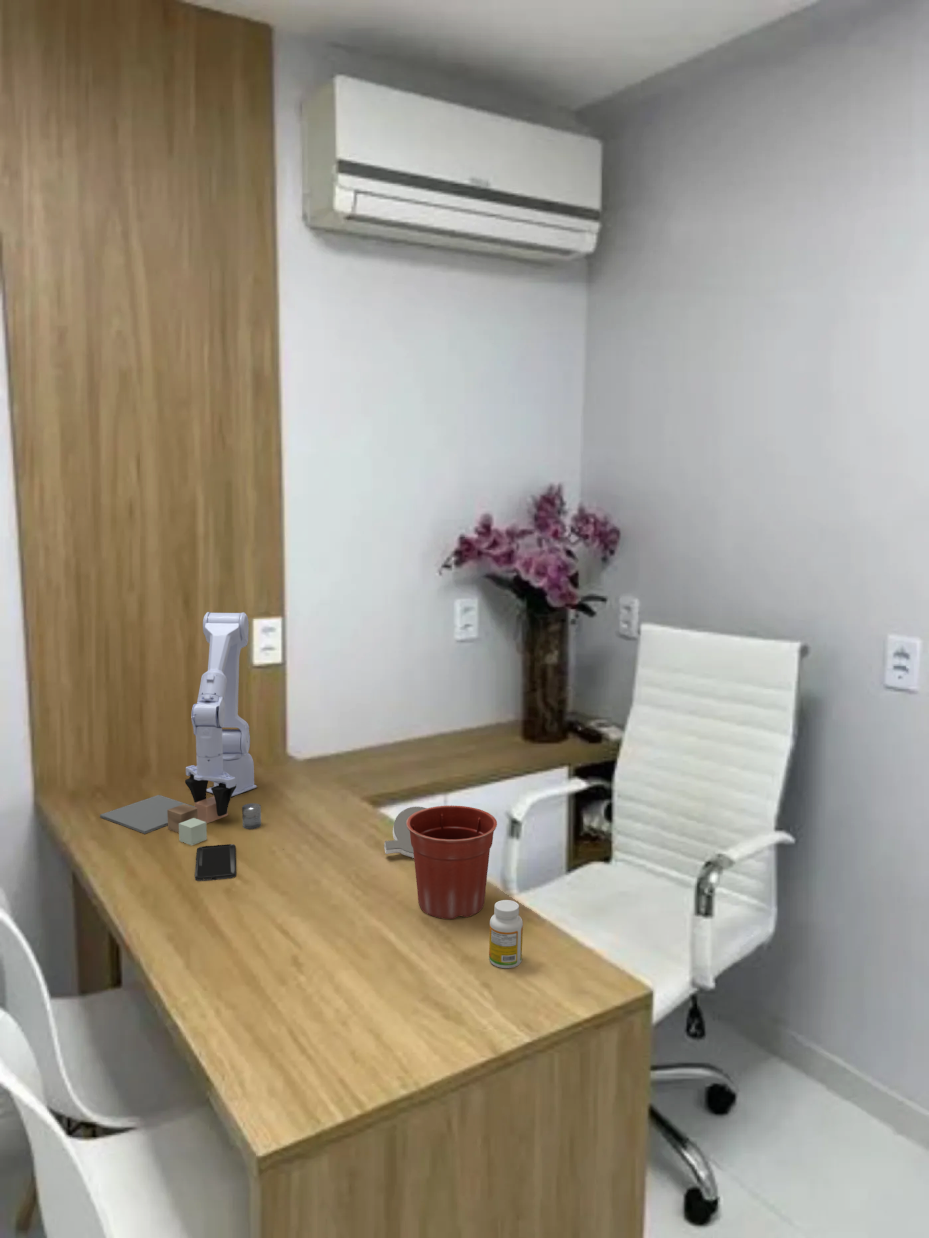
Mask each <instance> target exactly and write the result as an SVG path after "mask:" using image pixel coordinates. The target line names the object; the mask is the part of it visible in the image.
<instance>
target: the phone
mask: <svg viewBox="0 0 929 1238" xmlns="http://www.w3.org/2000/svg"><path fill="white" fill-rule="evenodd" d="M236 849H237V848H236V845H235V844H233V843H229V844H216V845H205V846H204V845H203V846H199V847H197V849H196V856H195V869H194V880H195V881H197V882H207V881H215V880H228V879H227V878H229V879H234V878H235V877H237V853H236V852H237V850H236ZM233 877H234V878H233Z"/></svg>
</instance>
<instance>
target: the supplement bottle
mask: <svg viewBox="0 0 929 1238" xmlns="http://www.w3.org/2000/svg"><path fill="white" fill-rule="evenodd" d="M493 909H494V912H493V913H494V914H493V915H492V916H491V918H490V920H489V935H488V936H489V937H488V938H489V940H488V941H489V942H488V943H489V945H488V948H489V949H488V953H489V954H488V957H489V958H488V960H489V962H490V964H491V965H493V966H494V967H498V968H501V969H512V968H516V967H517V966H519V965H520V964H521V963H522V960H523V933H524V932H523V930H524V929H523V928H524V924H523V923H524V922H523V919H522V917H521V916H520V915H519V914H520V905H519V903H517V902H516V901H514V900H510V899H502V900H499V901H497V902H495V903H494V908H493Z"/></svg>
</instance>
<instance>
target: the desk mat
mask: <svg viewBox="0 0 929 1238" xmlns="http://www.w3.org/2000/svg"><path fill="white" fill-rule="evenodd" d="M183 804H185V805H188V806H191V807H195V805H191V804H187V803H185V802H182V801H178V800H176V799H174V798H173V799H172V798H170V797H167V796H163V795H161V794H157V795H153V796H151V797H148V798H146V799H142V800H139V801H137V802H133V803H131V804H128V805H124V806H121V807H118V808H116V809H114V810H111V811H106V812H104V813H101V814H99V817H100V819H101V818H102V819H104V820H106V821H109V822H112V823H114V824H118V825H120V826H122V827H125V828H128V829H130V830H133V831H136V832H139V833H142V834H148V833H151V832H154V831H156V830H159V829H161V828H164V827H168V815H167V810H169V809H171V808H174V807H177V806H180V805H183Z"/></svg>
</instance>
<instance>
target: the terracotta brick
mask: <svg viewBox="0 0 929 1238" xmlns="http://www.w3.org/2000/svg"><path fill="white" fill-rule="evenodd" d="M194 807H195V808H197V811H198V819H199V820H201V821H204V822H206V824H209V823H212V822H214V821H216V820H220V819H222V818H225V817H227V816H229V811H228V810H229V809H228V810H227V814H225V815H222V816H218V815H217V810H216V801H215V797H214V795H213V796H210V797H208V798H207V797H206V799H205V800H202V801H199V802H196V803H195V802H194Z"/></svg>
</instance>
